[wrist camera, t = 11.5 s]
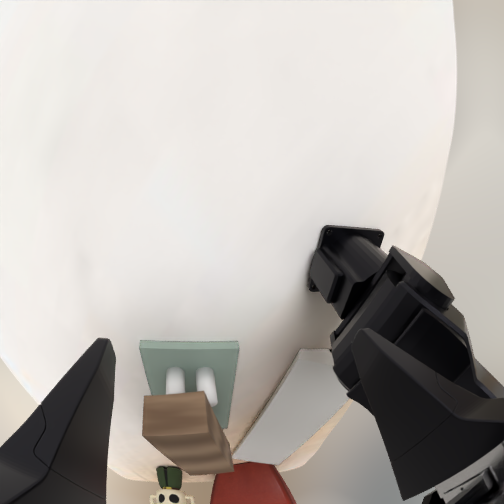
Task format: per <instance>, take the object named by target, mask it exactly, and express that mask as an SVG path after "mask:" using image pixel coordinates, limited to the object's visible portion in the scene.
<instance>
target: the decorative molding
mask: <svg viewBox="0 0 504 504" xmlns="http://www.w3.org/2000/svg"><path fill="white" fill-rule="evenodd" d="M333 365H334V361H333V357H332V353H331V352H330V350H329V349H312V350H311V349H300V350H299V352H298V354H297V356H296V357H295V359H294V361H293V363H292V364H291V366H290V368H289V369H288V371H287V373H286V374H285V376H284V378H283V379H282V381H281V382H280V384H279V386H278V387H277V389H276V391H275V392H274V394H273V395H272V397H271V398H270V400H269V401H268V403H267V405H266V406H265V408H264V409H263V411H262V412H261V414H260V415H259V417H258V418H257V420H256V421H255V423H254V424H253V425H252V427H251V428H250V430H249V431H248V433H247V434H246V436H245V437H244V438H243V440H242V441H241V443H240V444H239V445H238V447H237V448H236V449H235V451H234V453H233V455H232V458H233V459H239V460H245V461H251V462H258V463H266V464H274V465H279V464H280V463H281V462H283V461H284V460H285V459H286V458H288V457H289V456H290V455H291V454H292V453H294V452H295V451H296V450H297V449H298V448H299V447H300V446H302V445H303V444H304V443H305V442H306V441H307V440H308V439H309V438H311V437H312V436H313V435H314V434H315V433H316V432H317V431H318V430H319V429H320V428H321V427H322V426H323V425H324V424H325V423H326V422H327V421H328V420H329V419H330V418H331V417H332V416H333V415H334V414H335V413H336V412H337V411H338V410H339V409H340V408H341V407H342V406H343V405H344V404H345V403H346V402H347V401H348V399H349V397H348V396H347V395H346V393H347V392H348V390H346V389H345V388H344V387H343V386H342V384H341V383H340V382H339V380H338V378H337V376H336V375H335V373H334V371H333Z"/></svg>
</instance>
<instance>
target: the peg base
mask: <svg viewBox="0 0 504 504" xmlns="http://www.w3.org/2000/svg"><path fill="white" fill-rule="evenodd" d="M139 348H140V353H141V357H142V361H143V365H144V369H145V373H146V376H147V380H148V384H149V387H150V391H151V394H152V395H166V394H178V393H188V392H197V391H204V392H205V394H206V396H207V398H208V401H209V403H210V405H211V407H212V409H213V412H214V414H215V416H216V418H217V420H218V422H219V424H220V426H221V428H222V429H224V428H227V427H228V420H229V413H230V407H231V400H232V393H233V387H234V380H235V373H236V366H237V360H238V353H239V345H238V341H230V342H169V341H143V340H140V346H139Z"/></svg>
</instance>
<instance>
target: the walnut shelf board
mask: <svg viewBox="0 0 504 504" xmlns="http://www.w3.org/2000/svg"><path fill="white" fill-rule="evenodd" d="M142 436H143V437H144V438H145V439H146V440H147V441H149V442H150V443H151V444H152V445H153V446H154V447H155V448H156V449H158V450H159V451H160V452H161V453H162V454H163V455H165V456H166V457H167V458H168V459H170V460H171V461H172V462H173V463H175V464H176V465H177V466H178V467H180V468H181V469H182V470H184V471H185V472H186V473H188V474H189V475H190V476H191V475H207V474H218V473H227V472H234V467H233V461H232V456H231V450H230V444H229V442H228V440H227V438H226V436H225V434H224V432H223V430H222V428H221V426H220V424H219V422H218V420H217V418H216V416H215V414H214V412H213V409H212V407H211V405H210V403H209V401H208V398H207V396H206V394H205V392H204V391H197V392H188V393H178V394H166V395H151V396H144V408H143V430H142Z"/></svg>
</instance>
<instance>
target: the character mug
mask: <svg viewBox="0 0 504 504" xmlns="http://www.w3.org/2000/svg"><path fill="white" fill-rule="evenodd" d="M156 470H157V476H158V481H159V485H160V487H161V488H162V489H161V490H157V492H156V495H150V504H187V499H190V500H191V504H195V500H194V496H191V495H189V496H188V495H187V496H186V494H185V492H183V491H180V490H179V489H180V488H181V484H182V471H181V470H180V469H178V468H173V467H167V469H166V470H165V468H163V467H159V468H157V469H156ZM154 498H156V501H157V503H154Z"/></svg>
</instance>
